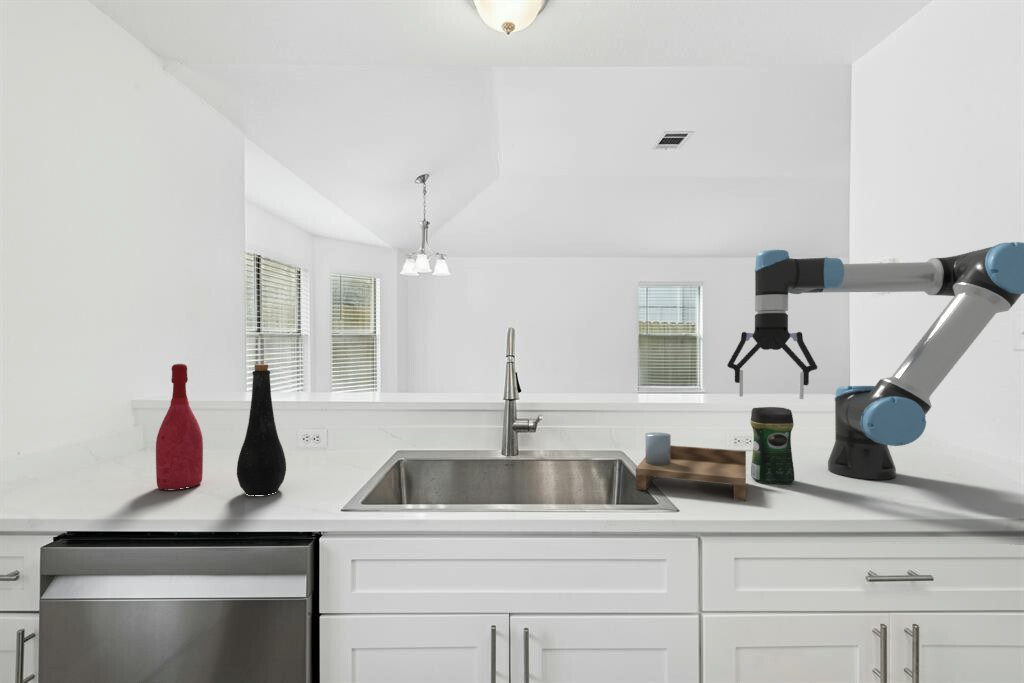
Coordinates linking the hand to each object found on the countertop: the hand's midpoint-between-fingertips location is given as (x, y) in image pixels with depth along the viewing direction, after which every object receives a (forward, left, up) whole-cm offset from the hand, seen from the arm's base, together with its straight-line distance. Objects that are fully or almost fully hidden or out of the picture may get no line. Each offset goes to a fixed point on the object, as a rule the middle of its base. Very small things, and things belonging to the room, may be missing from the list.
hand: (770, 397), depth 135 cm
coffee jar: (0, 0, -21) cm, 21 cm away
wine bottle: (+133, +62, -21) cm, 148 cm away
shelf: (+18, +13, -21) cm, 30 cm away
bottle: (+110, +58, -21) cm, 126 cm away
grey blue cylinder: (+26, +13, -16) cm, 33 cm away
